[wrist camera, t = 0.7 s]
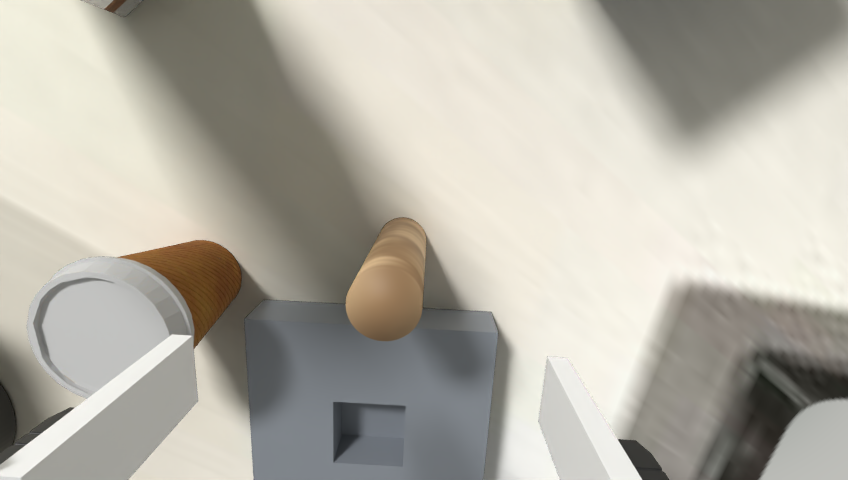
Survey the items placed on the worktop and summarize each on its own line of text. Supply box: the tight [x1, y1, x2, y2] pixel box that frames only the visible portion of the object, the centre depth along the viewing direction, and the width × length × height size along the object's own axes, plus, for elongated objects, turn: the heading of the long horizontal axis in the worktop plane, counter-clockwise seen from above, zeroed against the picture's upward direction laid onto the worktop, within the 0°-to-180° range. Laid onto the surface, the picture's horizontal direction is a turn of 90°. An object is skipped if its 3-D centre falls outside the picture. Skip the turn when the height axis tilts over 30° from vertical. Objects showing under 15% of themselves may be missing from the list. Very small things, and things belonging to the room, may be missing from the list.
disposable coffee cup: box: [27, 240, 242, 399], centre depth 31 cm, size 10×10×12 cm
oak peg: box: [346, 218, 426, 341], centre depth 28 cm, size 4×4×14 cm
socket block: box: [244, 300, 498, 480], centre depth 37 cm, size 20×20×4 cm
